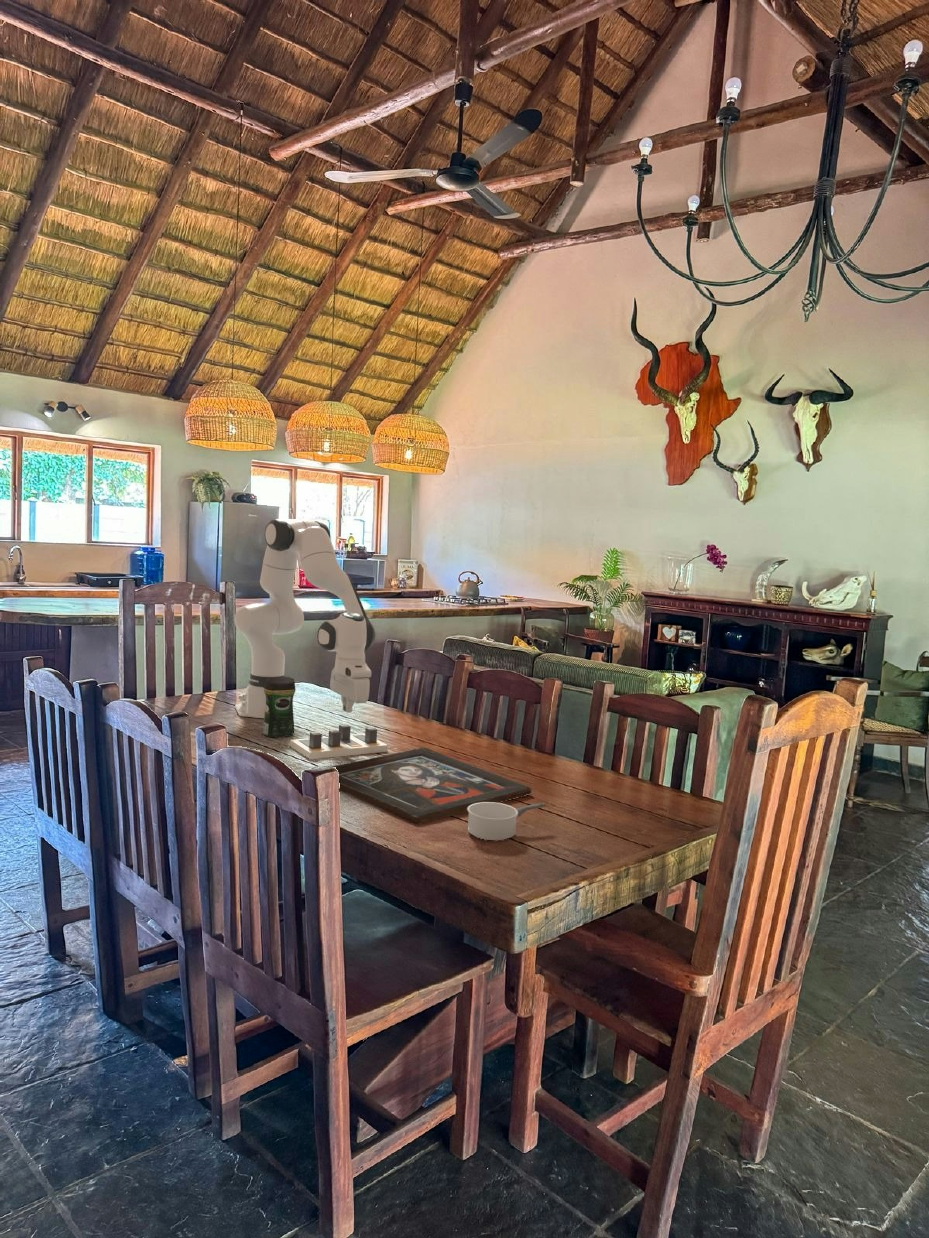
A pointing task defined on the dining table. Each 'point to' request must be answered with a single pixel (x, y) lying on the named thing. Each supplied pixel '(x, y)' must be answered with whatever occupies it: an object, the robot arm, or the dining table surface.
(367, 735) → the block
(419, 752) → the religious icon
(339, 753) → the panel
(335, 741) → the block
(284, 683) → the coffee jar
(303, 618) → the robot arm
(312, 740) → the block
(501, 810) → the saucepan
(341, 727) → the block
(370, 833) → the dining table surface
